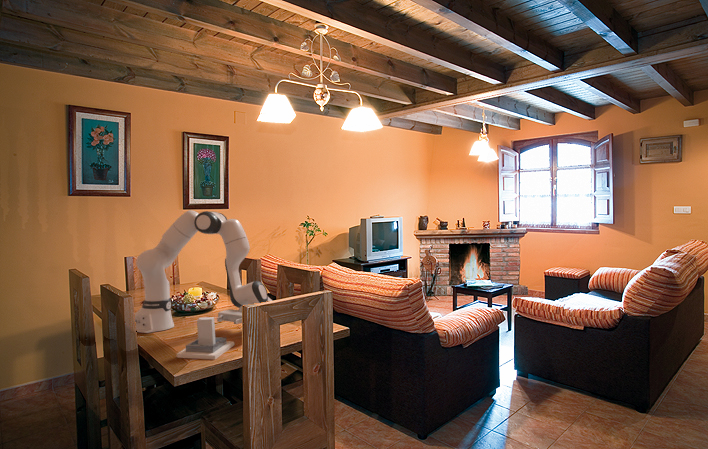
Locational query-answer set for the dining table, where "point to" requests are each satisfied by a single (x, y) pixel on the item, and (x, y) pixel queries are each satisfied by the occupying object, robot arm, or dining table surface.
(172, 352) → the dining table surface
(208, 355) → the collar board
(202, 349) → the collar
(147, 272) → the robot arm
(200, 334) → the skincare box
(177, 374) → the dining table surface
